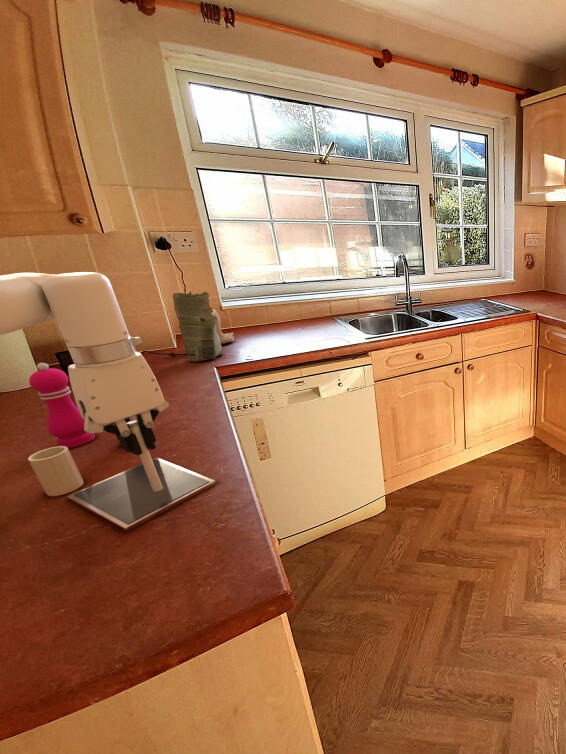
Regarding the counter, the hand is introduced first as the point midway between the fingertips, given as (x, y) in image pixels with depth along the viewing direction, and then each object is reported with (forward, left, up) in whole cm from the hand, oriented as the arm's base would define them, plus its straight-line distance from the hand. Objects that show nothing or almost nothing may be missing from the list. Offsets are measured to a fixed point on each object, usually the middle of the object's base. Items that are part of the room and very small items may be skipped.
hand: (142, 449), depth 75 cm
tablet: (0, +7, -11) cm, 13 cm away
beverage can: (+10, +32, -11) cm, 35 cm away
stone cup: (+68, +97, -11) cm, 119 cm away
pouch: (+56, +82, -11) cm, 100 cm away
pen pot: (-6, +23, -11) cm, 26 cm away
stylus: (0, 0, -9) cm, 9 cm away
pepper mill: (+4, +45, -11) cm, 46 cm away
